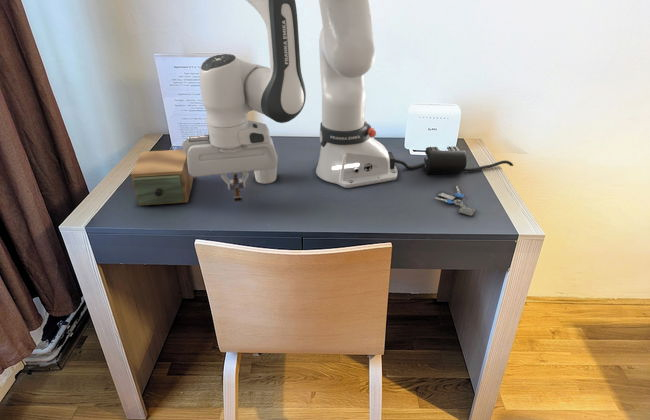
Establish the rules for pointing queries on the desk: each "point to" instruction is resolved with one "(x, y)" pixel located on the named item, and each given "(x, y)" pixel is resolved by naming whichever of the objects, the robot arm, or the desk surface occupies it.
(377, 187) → the desk surface
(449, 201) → the key chain
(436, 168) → the black cylinder
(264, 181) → the white cup
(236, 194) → the wooden post with brackets
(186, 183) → the cabinet
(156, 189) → the drawer
